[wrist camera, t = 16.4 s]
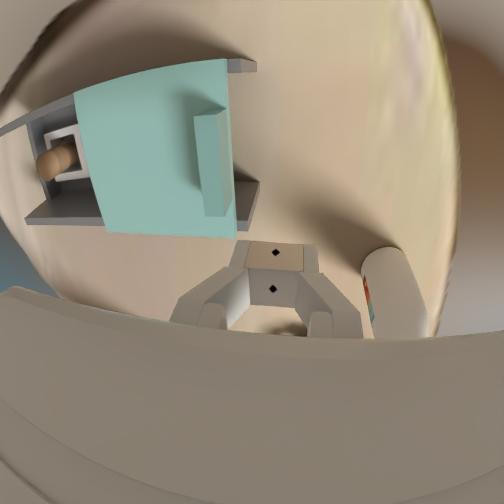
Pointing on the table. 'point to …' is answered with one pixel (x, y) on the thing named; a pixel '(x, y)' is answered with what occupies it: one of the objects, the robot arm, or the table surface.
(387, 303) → the milk bottle
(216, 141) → the lid
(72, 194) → the housing
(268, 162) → the table surface
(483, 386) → the robot arm
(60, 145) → the tan rounded cylinder
